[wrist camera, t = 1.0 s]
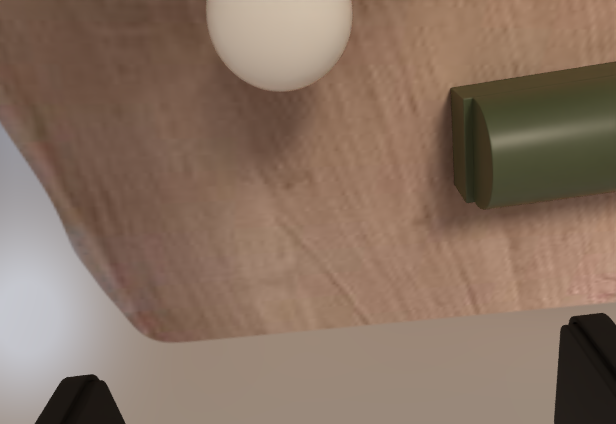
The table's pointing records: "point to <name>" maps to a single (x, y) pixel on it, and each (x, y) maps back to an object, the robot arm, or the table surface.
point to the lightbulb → (279, 39)
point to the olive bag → (536, 137)
